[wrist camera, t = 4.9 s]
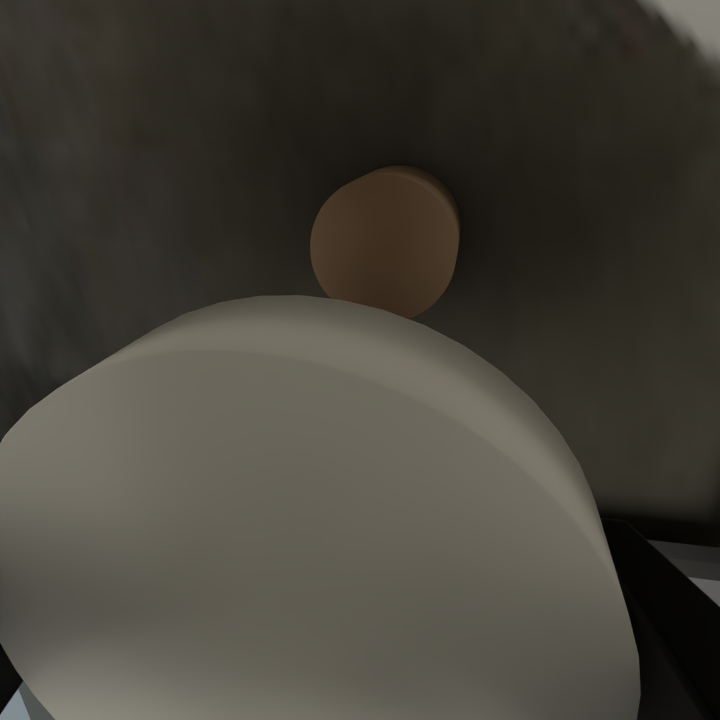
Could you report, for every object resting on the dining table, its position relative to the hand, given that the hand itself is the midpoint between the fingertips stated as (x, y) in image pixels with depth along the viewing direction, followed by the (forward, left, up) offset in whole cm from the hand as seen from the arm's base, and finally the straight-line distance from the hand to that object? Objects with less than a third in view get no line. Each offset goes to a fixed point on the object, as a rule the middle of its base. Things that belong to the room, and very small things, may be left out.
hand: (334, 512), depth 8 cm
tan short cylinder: (+1, -2, -12) cm, 12 cm away
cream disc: (0, 0, +1) cm, 1 cm away
